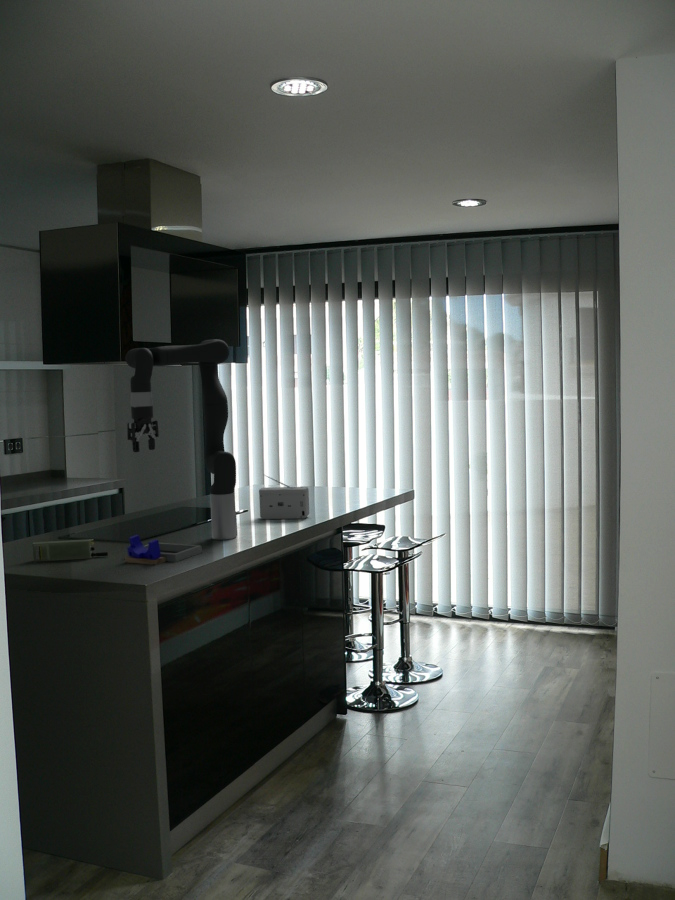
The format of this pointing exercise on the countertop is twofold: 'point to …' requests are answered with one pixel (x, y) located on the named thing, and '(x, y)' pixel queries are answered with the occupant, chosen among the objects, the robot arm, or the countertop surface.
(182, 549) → the grey shallow tray
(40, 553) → the handheld radio
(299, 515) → the stereo radio cassette player
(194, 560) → the countertop surface
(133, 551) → the cable clip
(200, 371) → the robot arm
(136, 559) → the walnut pad
